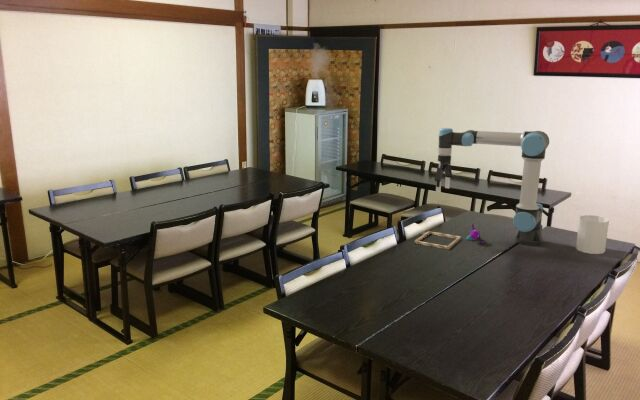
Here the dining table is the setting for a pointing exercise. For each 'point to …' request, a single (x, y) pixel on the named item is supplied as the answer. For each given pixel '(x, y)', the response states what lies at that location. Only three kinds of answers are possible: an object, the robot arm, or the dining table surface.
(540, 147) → the robot arm
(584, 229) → the container
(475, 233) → the toy
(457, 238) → the pocket frame
